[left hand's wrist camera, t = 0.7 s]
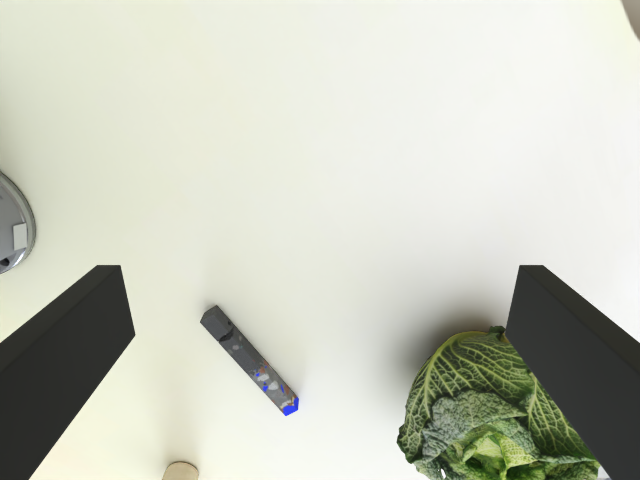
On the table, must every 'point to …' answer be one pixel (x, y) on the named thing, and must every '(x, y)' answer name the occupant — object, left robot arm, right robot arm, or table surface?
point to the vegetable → (488, 417)
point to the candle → (180, 472)
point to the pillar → (249, 360)
